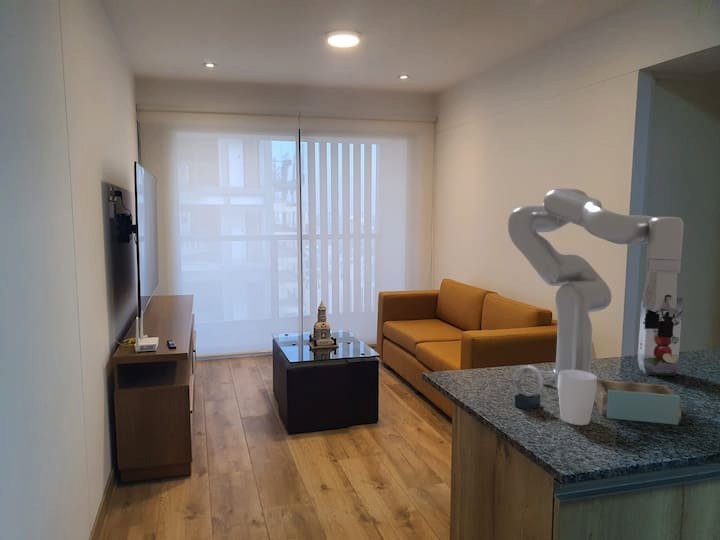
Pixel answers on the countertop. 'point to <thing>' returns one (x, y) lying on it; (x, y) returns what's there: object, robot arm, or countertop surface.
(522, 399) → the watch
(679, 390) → the countertop surface
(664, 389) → the crate
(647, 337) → the juice carton
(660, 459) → the countertop surface
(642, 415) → the panel
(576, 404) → the cup
